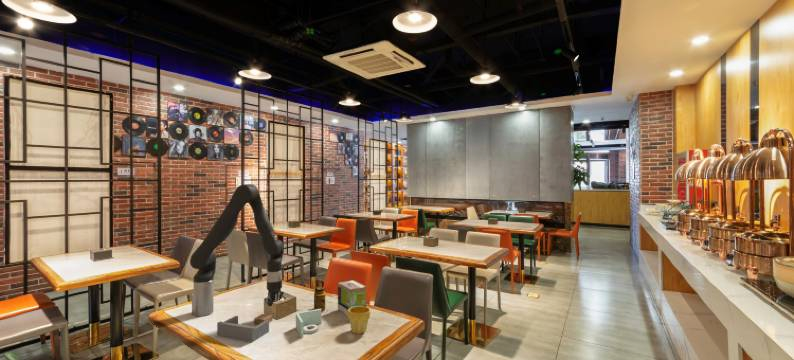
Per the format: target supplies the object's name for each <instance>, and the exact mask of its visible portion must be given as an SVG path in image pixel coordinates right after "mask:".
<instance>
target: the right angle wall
mask: <svg viewBox="0 0 794 360" xmlns="http://www.w3.org/2000/svg"><path fill="white" fill-rule="evenodd" d="M321 324H322V312H321V309H316V310H310V311H309V310H306V311H300V312H299V311H298V312H296V313H295V328H296V330H297V332H298V334H299V336H300V339H302V338H304V334H310V335H311V334H315V333H316V332H317V331H318V330H319V326H317V325H321Z"/></svg>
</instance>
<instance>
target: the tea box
mask: <svg viewBox="0 0 794 360" xmlns="http://www.w3.org/2000/svg"><path fill="white" fill-rule="evenodd" d="M355 306H365V307H367V286H366V285H364V284H362V283H360V282H358V281H356V280H348V281H341V282H338V283H337V310H338V311H339V312H341V313H343V314H344V315H345V316H347V317H348V309H349V308H351V307H355Z"/></svg>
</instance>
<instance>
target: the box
mask: <svg viewBox="0 0 794 360" xmlns="http://www.w3.org/2000/svg"><path fill="white" fill-rule="evenodd" d="M216 327H217V328H216V329H217V330H216V331H217V334H216V335H217V337H220V338H224V339H225V338H226V339H232V340H238V341H243V342H249V343H253V342H255V341H257V340H258V339H260V338H261V337H263V336H264V335H266V334H268V333H269V332H270V323H269V321H267V320H266V321H265V322H263V323H261V324H259V325H256V326H251V325H245V324H239V316H238V315H235V316H232V317H230V318H229V319H227V320H224V321H217V322H216Z"/></svg>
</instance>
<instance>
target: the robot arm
mask: <svg viewBox="0 0 794 360" xmlns="http://www.w3.org/2000/svg"><path fill="white" fill-rule="evenodd" d="M234 190H235V191H234V192H233V194H232V195H231V197H230V200H229V202H228V204H227V205H226V207H224V209H223V211H222V212H221V214H220V215H219V217H218V218H217V220H216V221H215V222H214V224H213V225H212V227H211V229H210V230H209V231H208V233H207V235H206V236H205V238H204V239H203V241H202V242H201V244H200V245H198V247H197V248H196V249H195V251H193V253H192V254H191V256H190V259H189V264H190V266H191V267H192V268H193V269H196V270H197V272H196V273H195V274H194V275H193V294H192V296H191V315H193V316H195V317H204V316H209V315H210V314H212V313H214V302H215V301H214V292H215V290H214V288H215V287H214V286H215V285H214V278H215V277H214V276H215V274H216V268H217V267H216V266H217V255H216V252H215V249H217V248H218V246H219V245H221V244H222V243H223V242H224V241H226V240H227V238H229V236H230V235H232V234H231V233H232V232H233V230H234V229H235V227H236V226H237V223H238V221H239V220H238V219H239V215H240V213H241V211H242V210H243V208H244V207H245V205H246V204H249V206H250V208H251V209H252V213H253V219H254V224H255V227H256V229H257V232H258V234H259V235H260V237H261V242H262V245H263V249H264V251H265V252H266V254H267V255H269V259H268V260H267V263H266V265H267V266H266V267H267V268H266V290H267V291H268V292H267V297H265V298H264V301H265V304H266V305H268V307H271V306H272V304H273V302H276V301H278V300H280V299H281V300H282V298H283V296H284V293H285V292H284V291H282V288H283V271H282V268H283V266H282V265H283V263H282V260H283V256H284V252H285V251H284V249H285V245H284V243H283V242H282V240H280V239H275V229H274V227H273V225H272V223H271V221H270V219H269V217H268V214H267V212H266V210H265V207H264V204H263V201H262V197H261V194H260V191H259V188H258V187H257V186H256V185H255V184H252V183H246V184H241V185H238V186H237V187H236V188H235V189H234Z"/></svg>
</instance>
